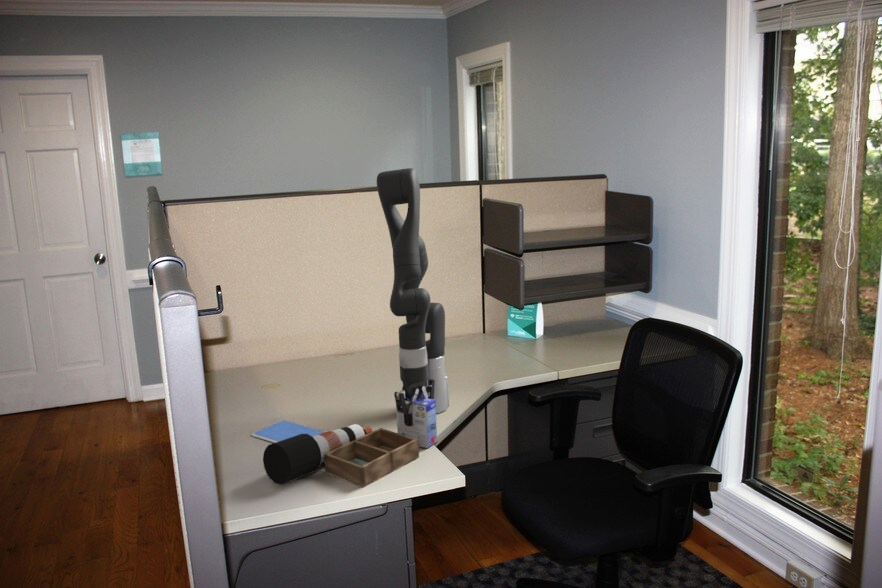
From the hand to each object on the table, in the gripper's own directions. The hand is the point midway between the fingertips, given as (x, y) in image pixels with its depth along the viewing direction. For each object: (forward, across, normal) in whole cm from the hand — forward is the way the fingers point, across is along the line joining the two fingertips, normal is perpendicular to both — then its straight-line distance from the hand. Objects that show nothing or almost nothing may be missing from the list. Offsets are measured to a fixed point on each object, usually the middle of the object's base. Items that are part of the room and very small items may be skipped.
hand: (416, 421), depth 197 cm
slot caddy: (+6, +17, 0) cm, 18 cm away
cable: (+6, +22, -12) cm, 26 cm away
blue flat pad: (+7, +17, -34) cm, 39 cm away
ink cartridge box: (+6, 0, 0) cm, 6 cm away
